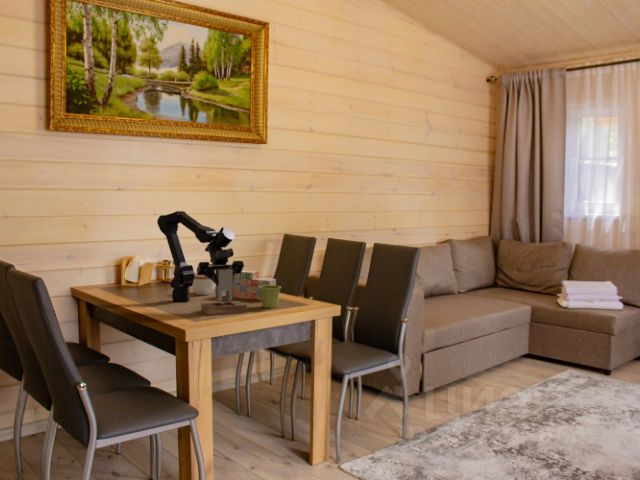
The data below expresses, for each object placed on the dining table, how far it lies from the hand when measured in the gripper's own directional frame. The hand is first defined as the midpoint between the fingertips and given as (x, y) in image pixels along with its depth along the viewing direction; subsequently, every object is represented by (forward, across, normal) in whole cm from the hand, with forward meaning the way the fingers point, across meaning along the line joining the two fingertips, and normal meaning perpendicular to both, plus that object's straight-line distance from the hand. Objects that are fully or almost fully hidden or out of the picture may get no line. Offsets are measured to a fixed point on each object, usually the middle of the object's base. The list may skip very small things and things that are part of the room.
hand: (224, 284), depth 258 cm
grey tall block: (+4, 0, +6) cm, 7 cm away
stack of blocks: (-11, +22, +27) cm, 37 cm away
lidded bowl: (-24, +5, +40) cm, 47 cm away
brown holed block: (+7, 0, +9) cm, 11 cm away
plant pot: (+6, +21, +11) cm, 24 cm away
